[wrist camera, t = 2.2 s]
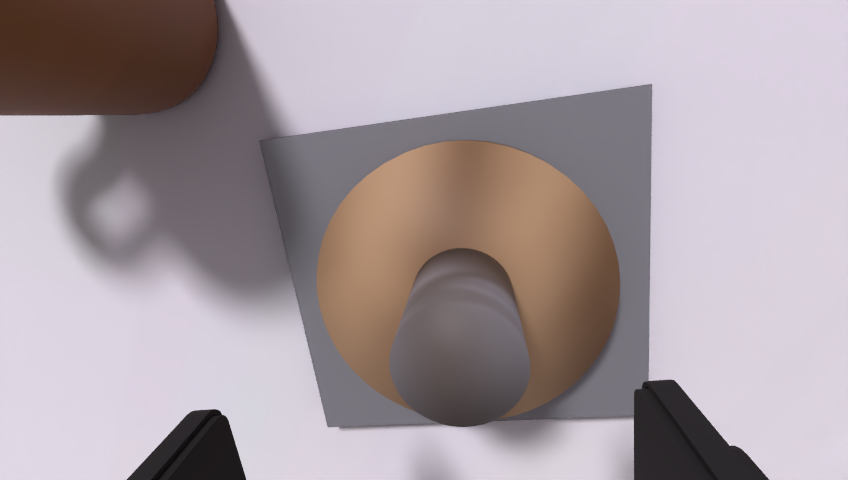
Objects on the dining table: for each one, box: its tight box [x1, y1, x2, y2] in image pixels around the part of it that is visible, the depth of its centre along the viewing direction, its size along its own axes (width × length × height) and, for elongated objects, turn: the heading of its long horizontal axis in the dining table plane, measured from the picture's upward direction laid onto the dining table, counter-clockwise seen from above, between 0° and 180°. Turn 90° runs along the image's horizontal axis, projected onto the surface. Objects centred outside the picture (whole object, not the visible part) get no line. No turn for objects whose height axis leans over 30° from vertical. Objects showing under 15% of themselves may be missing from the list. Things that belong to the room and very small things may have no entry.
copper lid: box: [317, 140, 620, 427], centre depth 15 cm, size 12×12×6 cm
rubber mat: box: [260, 84, 652, 427], centre depth 18 cm, size 15×14×1 cm
